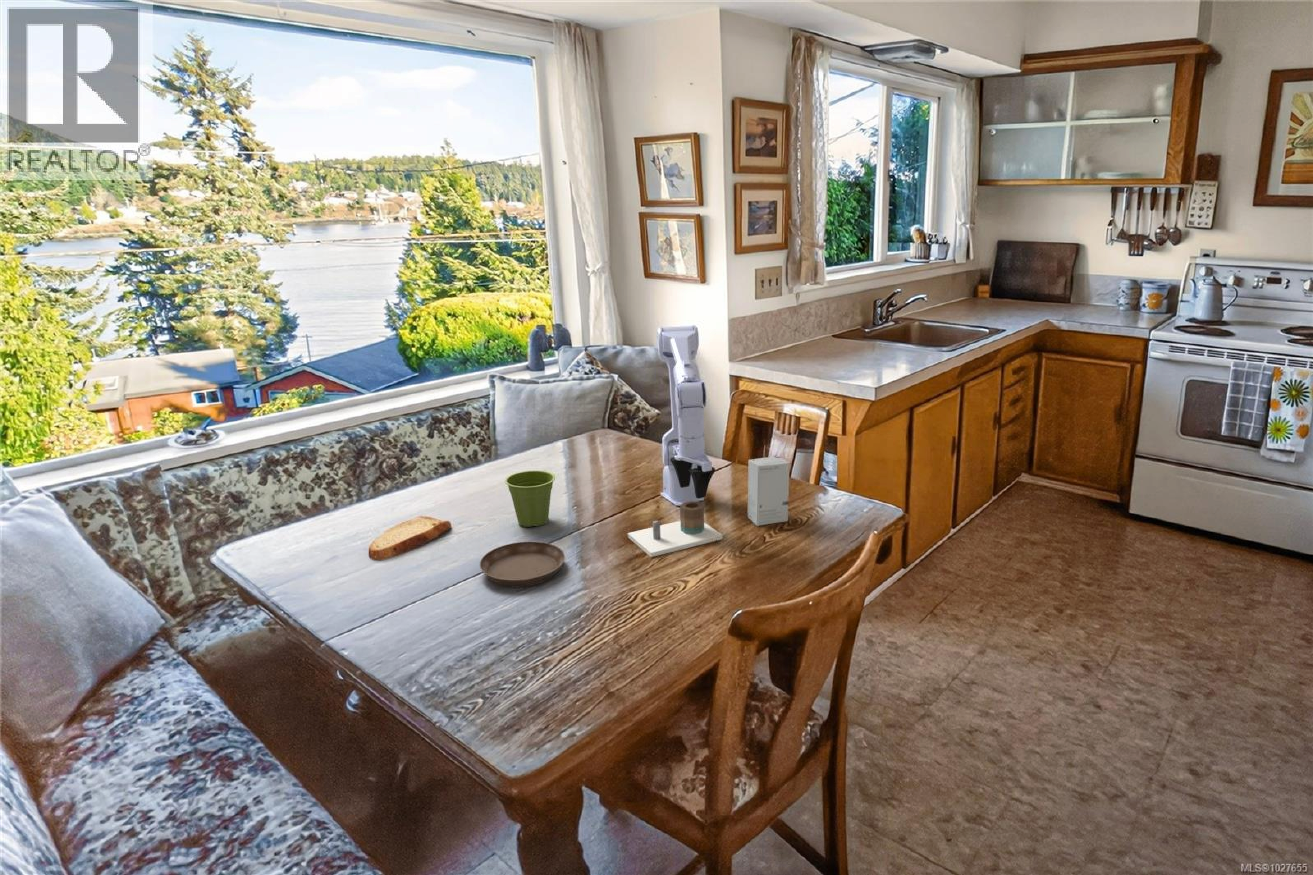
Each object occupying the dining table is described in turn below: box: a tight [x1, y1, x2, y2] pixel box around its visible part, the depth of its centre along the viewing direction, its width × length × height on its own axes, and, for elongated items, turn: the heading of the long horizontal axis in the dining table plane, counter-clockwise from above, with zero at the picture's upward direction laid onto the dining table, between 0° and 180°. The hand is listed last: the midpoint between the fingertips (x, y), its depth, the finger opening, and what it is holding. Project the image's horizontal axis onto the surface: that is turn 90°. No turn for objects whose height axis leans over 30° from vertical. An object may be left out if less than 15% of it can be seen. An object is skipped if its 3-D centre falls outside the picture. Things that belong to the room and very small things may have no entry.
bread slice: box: [368, 515, 452, 561], centre depth 181 cm, size 18×18×4 cm
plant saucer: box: [479, 541, 566, 588], centre depth 164 cm, size 18×18×3 cm
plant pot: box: [504, 469, 556, 528], centre depth 187 cm, size 12×12×11 cm
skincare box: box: [747, 456, 790, 527], centre depth 183 cm, size 8×6×15 cm
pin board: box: [627, 520, 724, 558], centre depth 176 cm, size 12×18×5 cm, turn 116°
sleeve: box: [679, 501, 705, 535], centre depth 178 cm, size 5×5×6 cm
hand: (692, 491), depth 177 cm, fingers open, 7 cm apart
